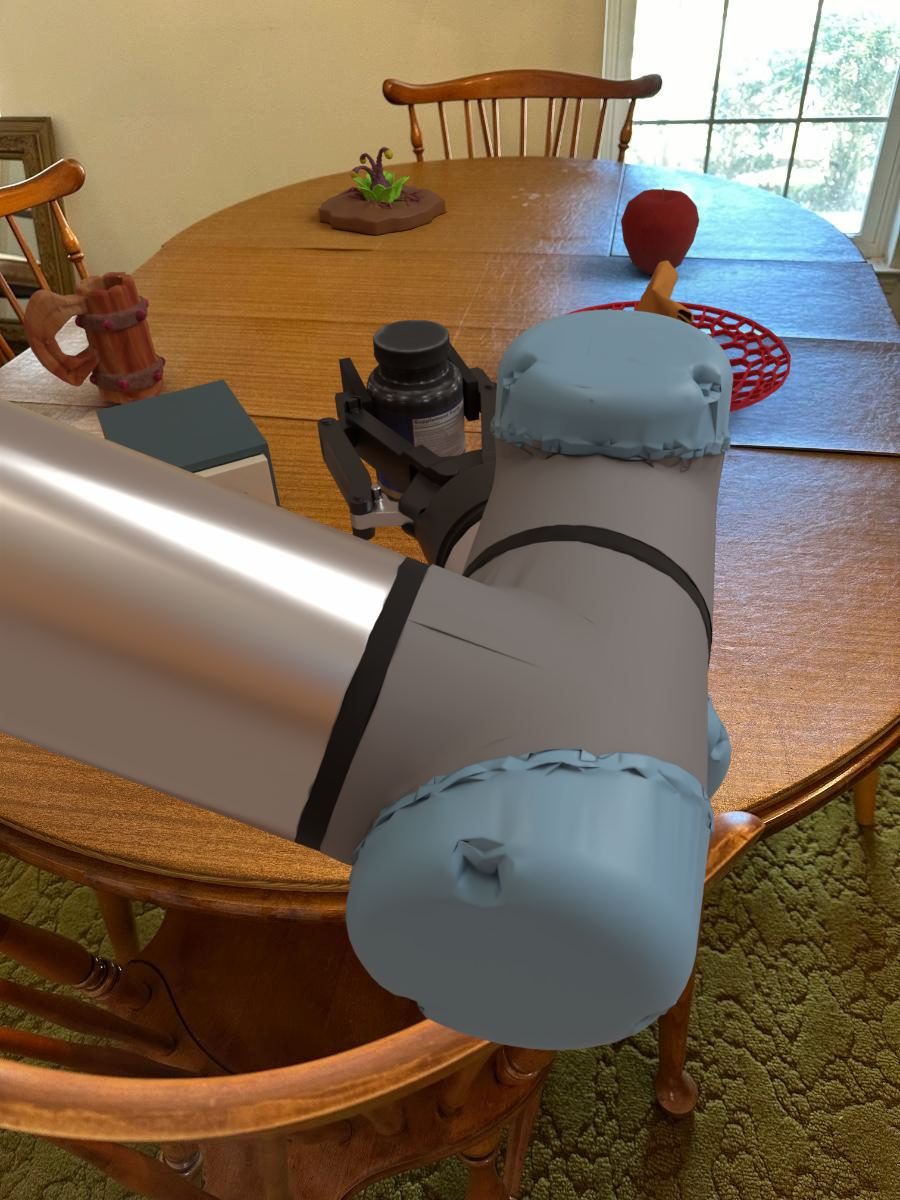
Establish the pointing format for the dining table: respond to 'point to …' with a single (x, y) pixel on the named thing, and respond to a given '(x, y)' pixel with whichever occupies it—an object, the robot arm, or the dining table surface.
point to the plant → (380, 202)
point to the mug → (98, 337)
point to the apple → (659, 228)
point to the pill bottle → (417, 390)
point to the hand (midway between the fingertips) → (396, 368)
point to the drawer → (244, 476)
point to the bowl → (760, 384)
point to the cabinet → (188, 428)
